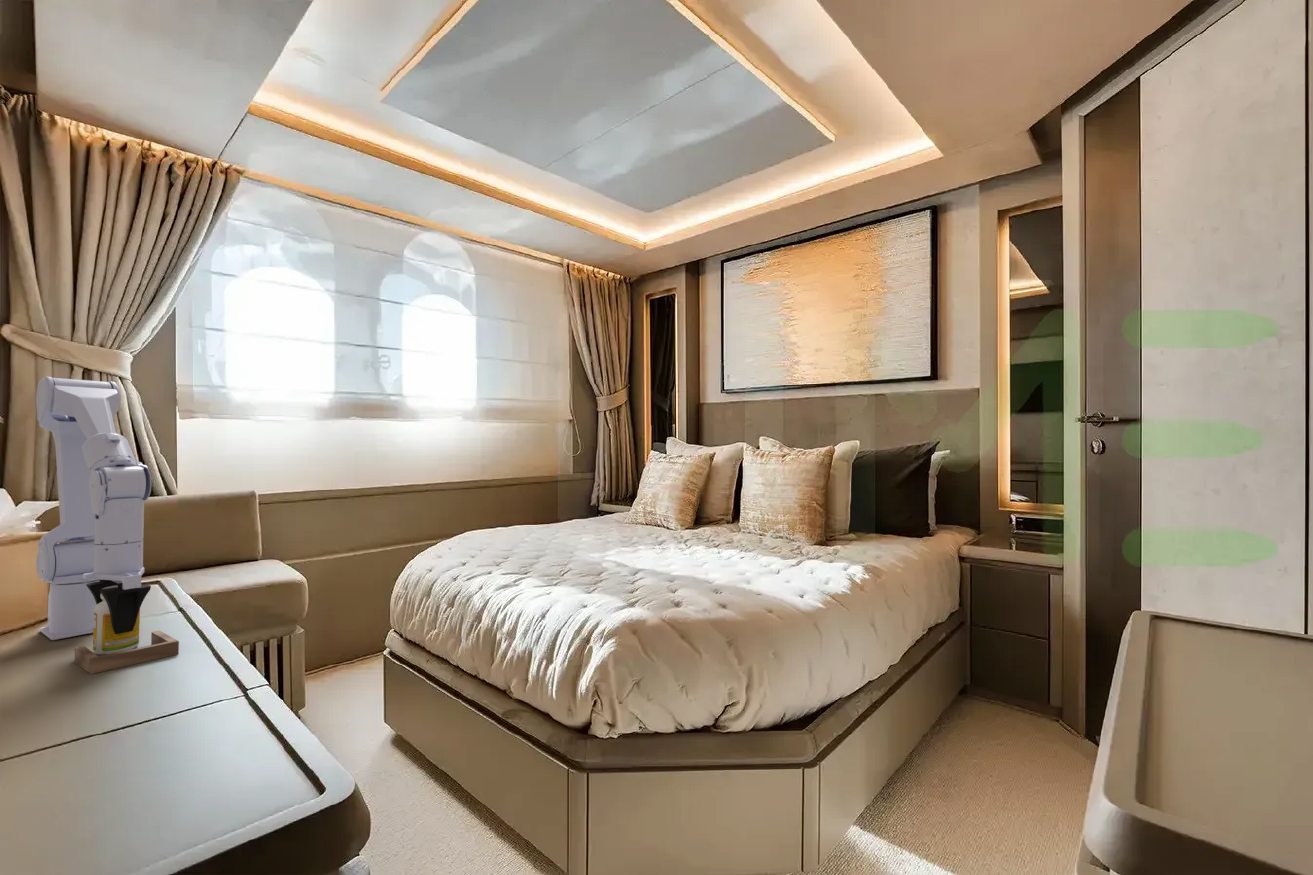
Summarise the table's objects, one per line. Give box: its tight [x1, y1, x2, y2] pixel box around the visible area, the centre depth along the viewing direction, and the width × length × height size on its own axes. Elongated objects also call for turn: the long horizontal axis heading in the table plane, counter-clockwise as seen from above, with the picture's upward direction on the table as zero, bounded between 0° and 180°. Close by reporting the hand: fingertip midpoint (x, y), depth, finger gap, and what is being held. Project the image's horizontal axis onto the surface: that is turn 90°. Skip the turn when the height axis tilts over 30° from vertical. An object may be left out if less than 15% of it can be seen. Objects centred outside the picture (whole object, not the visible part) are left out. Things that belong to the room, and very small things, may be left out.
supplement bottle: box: [92, 585, 141, 656], centre depth 93 cm, size 5×5×10 cm
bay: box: [74, 630, 180, 675], centre depth 89 cm, size 9×10×2 cm
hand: (117, 628), depth 92 cm, fingers open, 6 cm apart
